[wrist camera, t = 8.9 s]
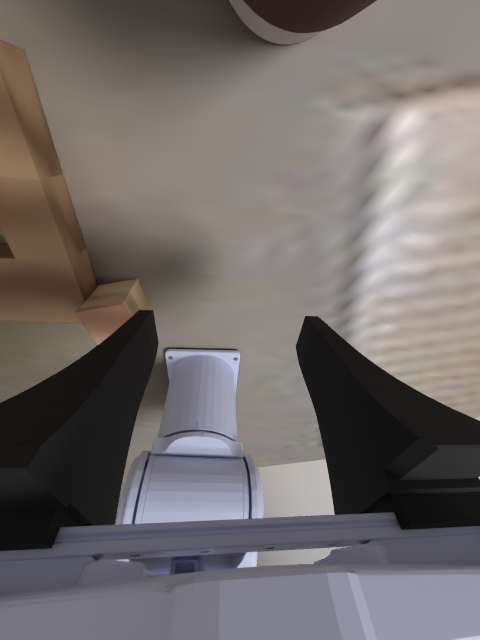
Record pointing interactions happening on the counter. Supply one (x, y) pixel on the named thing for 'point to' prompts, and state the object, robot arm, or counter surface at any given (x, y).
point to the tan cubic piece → (111, 307)
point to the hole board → (35, 209)
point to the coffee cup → (295, 17)
